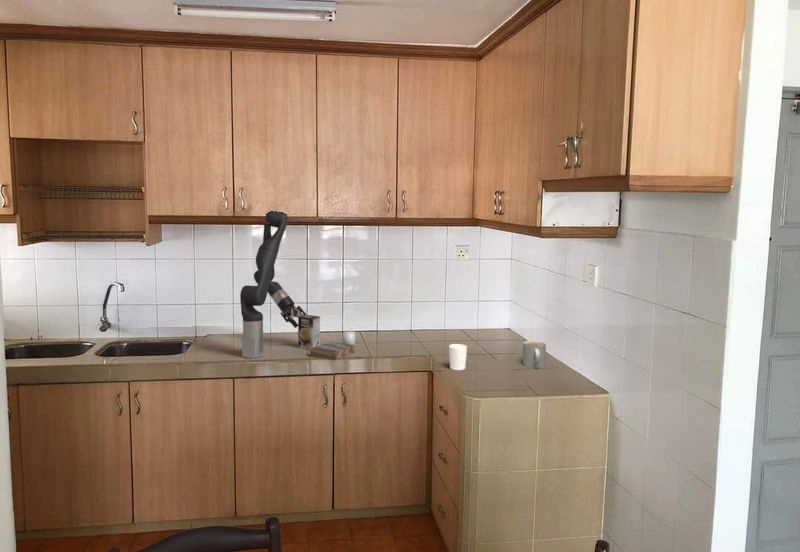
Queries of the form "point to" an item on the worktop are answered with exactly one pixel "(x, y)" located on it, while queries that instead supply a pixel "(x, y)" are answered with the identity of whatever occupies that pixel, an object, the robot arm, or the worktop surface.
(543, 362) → the coffee mug
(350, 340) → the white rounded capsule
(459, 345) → the white cup
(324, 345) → the podium
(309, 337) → the coffee box
